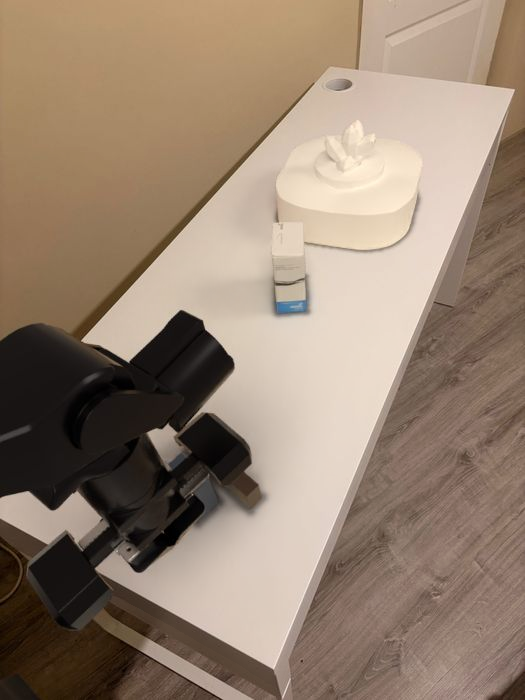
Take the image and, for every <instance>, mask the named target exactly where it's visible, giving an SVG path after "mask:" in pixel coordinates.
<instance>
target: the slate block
mask: <svg viewBox="0 0 525 700" xmlns="http://www.w3.org/2000/svg"><path fill="white" fill-rule="evenodd" d="M186 457H187V456H186V455H185V454H184V453H183V452H180V453H179V454H178V455H177V456H175V457H174V458H173V459H172V460H171V461H170V462H169V463H167V464H168V465H169V466H170V467H171V469H172V470H173V469H174V468H175V467H176V466H178V465H179V464H180V463H181V462H182V461H183V460H184V459H185V458H186ZM197 475H198V474H197ZM193 478H195V477H193ZM190 481H191V480H190ZM193 493H194V494H195V495H196V496H197V497H198V498H199V499H200V500H201V501H202V502H203V503H204V505H205V512H204V513H203V514H202V515H201V516H200V517H199V519H198V520H197V521H196V522H195V523H197V524H199V523H200V522H202V520H203V519H204V518H206V517H207V515H208V514H209V513H210V512H211V511H212V510H213V509H214V508H215V507H216V506H218V505H219V499H218V496H217V495H216V492H215V489H214V487H213V485H212V483H211V480H210V478H209V477H208V478H207V479H206V480H205V481H204V482H203V483H202V484H201V485H200V486H199V487H198V488H197V489H196V490H195V491H194V492H193Z"/></svg>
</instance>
